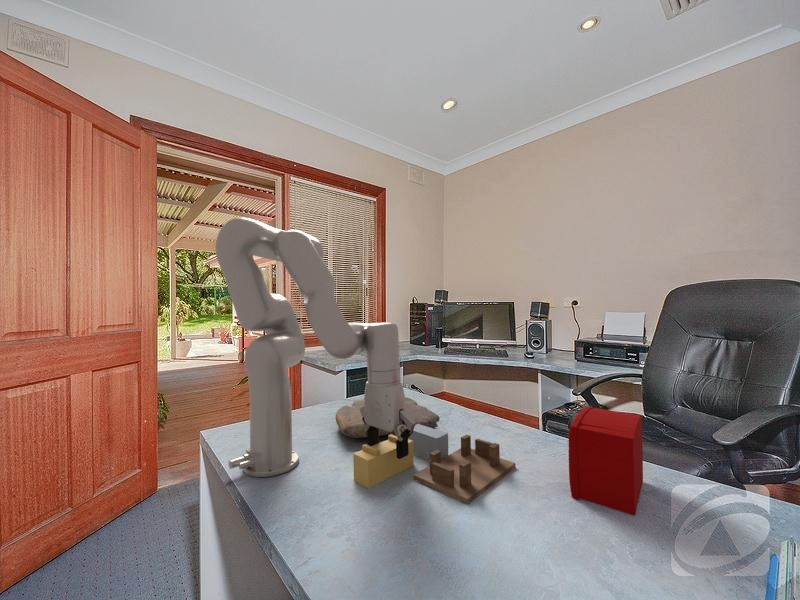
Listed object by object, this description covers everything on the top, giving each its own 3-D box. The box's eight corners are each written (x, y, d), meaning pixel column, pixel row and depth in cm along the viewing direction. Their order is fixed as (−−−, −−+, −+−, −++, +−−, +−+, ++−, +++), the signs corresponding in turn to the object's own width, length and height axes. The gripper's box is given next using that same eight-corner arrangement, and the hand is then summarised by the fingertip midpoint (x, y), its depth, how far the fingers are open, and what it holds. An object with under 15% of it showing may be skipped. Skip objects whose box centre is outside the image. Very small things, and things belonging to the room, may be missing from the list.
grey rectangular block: (437, 463, 84) (436, 438, 84) (407, 451, 91) (406, 428, 91) (448, 457, 87) (448, 433, 87) (418, 446, 94) (418, 423, 94)
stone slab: (445, 436, 101) (444, 414, 101) (345, 451, 91) (345, 428, 91) (407, 406, 130) (406, 390, 130) (328, 416, 120) (328, 398, 120)
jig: (467, 504, 66) (467, 475, 66) (413, 479, 76) (412, 454, 76) (515, 467, 81) (515, 443, 81) (464, 450, 91) (464, 429, 91)
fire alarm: (587, 466, 81) (585, 401, 81) (643, 480, 74) (641, 410, 74) (569, 497, 68) (567, 421, 68) (634, 518, 61) (632, 433, 61)
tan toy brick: (368, 489, 73) (367, 455, 73) (353, 480, 76) (353, 448, 77) (413, 466, 83) (413, 436, 83) (398, 459, 86) (398, 431, 86)
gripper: (347, 375, 83) (351, 446, 83) (399, 384, 71) (403, 468, 71) (371, 369, 88) (374, 437, 88) (423, 377, 76) (427, 455, 76)
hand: (387, 450), depth 80 cm, fingers open, 9 cm apart
